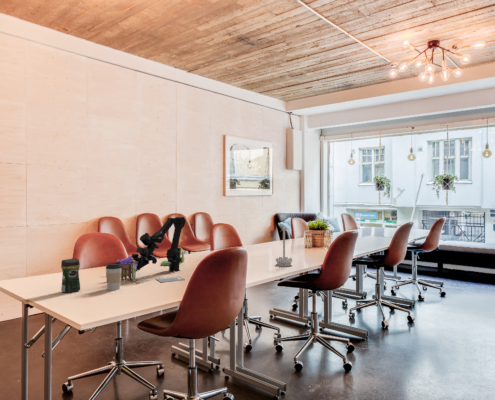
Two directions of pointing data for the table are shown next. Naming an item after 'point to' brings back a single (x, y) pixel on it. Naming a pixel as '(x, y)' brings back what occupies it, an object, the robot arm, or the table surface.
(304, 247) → the table surface
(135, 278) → the sage fence section
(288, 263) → the flag stand
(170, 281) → the card
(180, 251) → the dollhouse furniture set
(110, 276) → the coffee cup
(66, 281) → the coffee jar
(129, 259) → the toy sofa
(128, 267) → the walnut fence section
